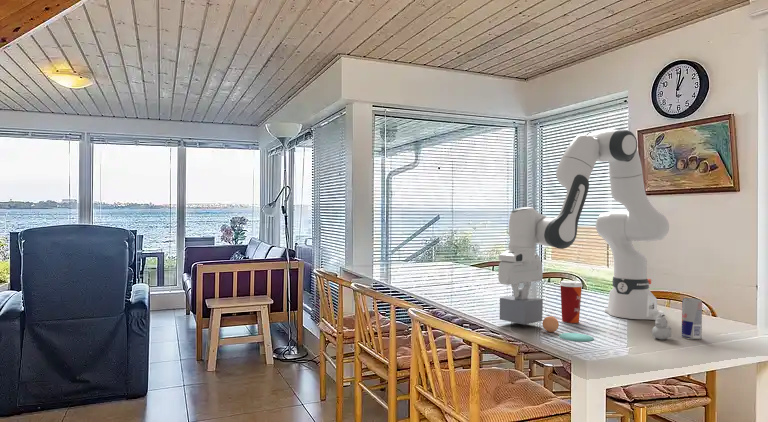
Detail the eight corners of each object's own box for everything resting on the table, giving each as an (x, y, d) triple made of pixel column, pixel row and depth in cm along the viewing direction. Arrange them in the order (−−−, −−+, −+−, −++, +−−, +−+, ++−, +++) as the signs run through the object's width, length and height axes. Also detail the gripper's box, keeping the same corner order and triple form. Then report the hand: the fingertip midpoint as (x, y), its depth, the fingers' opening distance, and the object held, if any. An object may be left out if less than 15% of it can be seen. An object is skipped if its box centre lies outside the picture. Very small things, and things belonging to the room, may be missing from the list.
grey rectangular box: (517, 315, 186) (518, 286, 186) (542, 320, 178) (542, 289, 178) (499, 319, 179) (500, 288, 179) (524, 324, 172) (524, 292, 172)
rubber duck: (646, 338, 164) (647, 312, 164) (661, 336, 167) (662, 310, 167) (662, 342, 159) (662, 315, 159) (677, 340, 162) (677, 313, 162)
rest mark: (570, 332, 170) (570, 331, 170) (599, 338, 163) (599, 337, 163) (552, 336, 164) (552, 336, 164) (582, 343, 156) (582, 342, 156)
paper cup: (583, 324, 182) (584, 283, 182) (560, 323, 184) (561, 282, 184) (580, 319, 190) (580, 280, 190) (557, 318, 191) (558, 279, 191)
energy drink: (680, 335, 168) (681, 297, 168) (699, 336, 166) (700, 298, 166) (683, 338, 163) (683, 300, 163) (703, 340, 161) (703, 301, 161)
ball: (548, 329, 174) (548, 314, 174) (561, 332, 170) (562, 316, 170) (539, 331, 171) (539, 316, 170) (552, 334, 167) (553, 318, 167)
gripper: (532, 253, 188) (531, 292, 188) (495, 255, 175) (494, 297, 175) (547, 254, 183) (546, 294, 183) (511, 257, 170) (510, 300, 170)
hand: (521, 296), depth 179 cm, fingers closed on grey rectangular box, 3 cm apart
